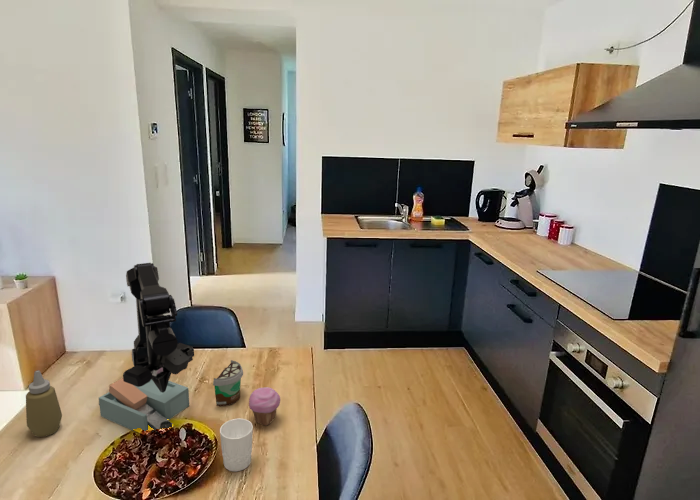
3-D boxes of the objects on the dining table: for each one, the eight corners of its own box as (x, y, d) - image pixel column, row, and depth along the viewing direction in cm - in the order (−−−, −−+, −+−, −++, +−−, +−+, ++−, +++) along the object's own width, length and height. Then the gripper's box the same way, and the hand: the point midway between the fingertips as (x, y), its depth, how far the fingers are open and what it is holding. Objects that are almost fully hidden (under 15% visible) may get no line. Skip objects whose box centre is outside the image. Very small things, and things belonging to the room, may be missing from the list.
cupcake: (270, 433, 126) (269, 402, 123) (243, 425, 128) (242, 394, 126) (285, 415, 134) (285, 385, 131) (259, 408, 136) (259, 379, 134)
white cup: (224, 451, 118) (223, 418, 115) (255, 451, 119) (254, 417, 116) (218, 474, 110) (216, 439, 108) (251, 473, 111) (250, 438, 108)
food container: (233, 412, 134) (232, 382, 132) (214, 409, 135) (212, 379, 133) (250, 389, 146) (249, 361, 143) (232, 386, 147) (231, 359, 144)
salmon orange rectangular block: (108, 391, 129) (109, 384, 128) (122, 384, 133) (123, 377, 132) (133, 410, 126) (134, 403, 125) (146, 402, 129) (147, 395, 128)
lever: (115, 399, 128) (116, 395, 128) (127, 392, 132) (128, 388, 131) (163, 437, 122) (164, 432, 122) (174, 428, 126) (175, 424, 125)
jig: (100, 416, 130) (98, 397, 128) (146, 389, 144) (145, 372, 142) (145, 436, 123) (143, 416, 121) (189, 405, 136) (188, 387, 135)
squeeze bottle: (70, 425, 126) (62, 367, 121) (43, 443, 118) (33, 382, 114) (49, 418, 128) (40, 361, 123) (21, 435, 121) (10, 375, 116)
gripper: (151, 362, 106) (156, 419, 110) (208, 331, 122) (210, 383, 126) (118, 350, 111) (124, 406, 115) (177, 323, 127) (180, 372, 131)
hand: (162, 391), depth 121 cm, fingers closed
